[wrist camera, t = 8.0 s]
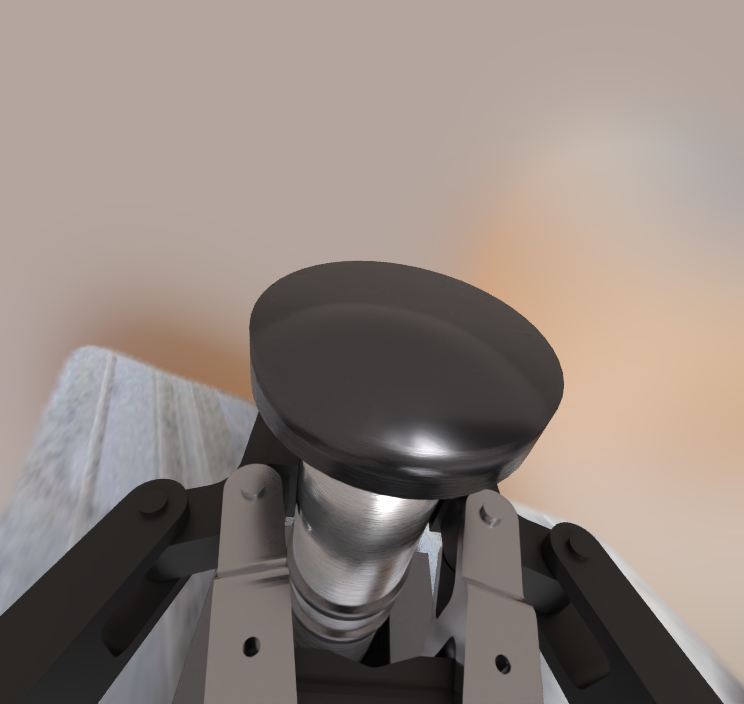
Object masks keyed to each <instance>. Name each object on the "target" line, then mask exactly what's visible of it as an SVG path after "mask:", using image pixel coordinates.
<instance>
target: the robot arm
mask: <svg viewBox="0 0 744 704" xmlns="http://www.w3.org/2000/svg"><path fill="white" fill-rule="evenodd" d="M299 470H300V458H299V457H297V456H296V455H295V454H293V453H292V452H291V451H290V450H289V449H288V448H287V447H286V446H285V445H284V444H283V443H282V442H281V441H279V440H278V439H277V438H276V436H275V435H274V434H273V432H272V431H271V430H270V428H269V427H268V426H267V424H266V423H265V421H264V420H263V418H262V416H261V414H260V412H258V415H257V418H256V421H255V424H254V427H253V430H252V432H251V435H250V438H249V441H248V444H247V447H246V450H245V453H244V456H243V459H242V461H241V464H240V465H239V467H238V469H237V470H236V471H234V472H233V473H232V474H231V475H230V476H229V477H228V478H226V479H225V480H223V481H221V482H219V483H216V484H213V485H209V486H203V487H198V488H192V489H187V490H185V488H184V487H183V486H182V485H181V484H180V483H178V482H177V481H174V480H170V479H156V480H151V481H148V482H146V483H143V484H141V485H139V486H138V487H136V488H135V489H133V490H132V491H131V492H130V493H129V494H128V495H127V496H126V497H125V498H124V499H123V500H121V501H120V502H119V503H118V504H117V505H116V506H115V507H114V508H113V509H112V510H111V511H110V512H109V513H108V514H107V515H106V516H105V517H104V518H103V519H102V520H101V521H100V522H98V523H97V524H96V525H95V526H94V527H93V528H92V529H91V530H90V531H89V532H88V533H87V534H86V535H85V536H84V537H83V538H82V539H81V540H80V541H79V542H78V543H77V544H75V545H74V546H73V547H72V548H71V549H70V550H69V551H68V552H67V553H66V554H65V555H64V556H63V557H62V558H61V559H60V560H59V561H58V562H57V563H56V564H55V565H54V566H52V567H51V568H50V569H49V570H48V571H47V572H46V573H45V574H44V575H43V576H42V577H41V578H40V579H39V580H38V581H37V582H36V583H35V584H34V585H33V586H32V587H31V588H29V589H28V590H27V591H26V592H25V593H24V594H23V595H22V596H21V597H20V598H19V599H18V600H17V601H16V602H15V603H14V604H13V605H12V606H11V607H10V608H9V609H8V610H6V611H5V612H4V613H3V614H2V615H1V616H0V704H98V702H99V701H100V700H101V698H102V697H103V696H104V694H105V693H106V691H107V690H108V689H109V687H110V686H111V685H112V683H113V682H114V680H115V679H116V678H117V676H118V675H119V674H120V672H121V671H122V670H123V668H124V667H125V665H126V664H127V663H128V661H129V660H130V659H131V657H132V656H133V655H134V653H135V652H136V650H137V649H138V648H139V646H140V645H141V644H142V642H143V641H144V640H145V638H146V637H147V635H148V634H149V633H150V631H151V630H152V629H153V627H154V626H155V625H156V623H157V622H158V620H159V619H160V618H161V616H162V615H163V614H164V612H165V611H166V610H167V608H168V607H169V605H170V604H171V603H172V601H173V600H174V599H175V597H176V596H177V595H178V593H179V592H180V590H181V589H182V588H183V586H184V585H185V584H186V582H187V581H188V580H189V578H190V577H191V575H192V574H195V573H199V572H203V571H207V570H211V569H215V568H218V570H217V575H216V576H215V579H214V585H213V594H212V607H211V619H210V632H209V645H208V657H207V670H206V683H205V695H204V704H544V702H543V690H542V678H541V666H540V654H539V649H540V651H541V653H542V655H543V656H544V658H545V660H546V662H547V664H548V666H549V667H550V669H551V671H552V673H553V675H554V677H555V678H556V680H557V682H558V684H559V686H560V688H561V689H562V691H563V693H564V695H565V697H566V699H567V700H568V702H569V704H723V702H722V701H721V700H720V698H719V697H718V696H717V695H716V693H715V692H714V691H713V689H712V688H711V687H710V685H709V684H708V683H707V682H706V680H705V679H704V678H703V676H702V675H701V674H700V673H699V671H698V670H697V669H696V667H695V666H694V665H693V664H692V662H691V661H690V660H689V658H688V657H687V656H686V654H685V653H684V652H683V651H682V649H681V648H680V647H679V645H678V644H677V643H676V642H675V640H674V639H673V638H672V636H671V635H670V634H669V633H668V631H667V630H666V629H665V627H664V626H663V625H662V623H661V622H660V621H659V620H658V618H657V617H656V616H655V614H654V613H653V612H652V611H651V609H650V608H649V607H648V605H647V604H646V603H645V602H644V600H643V599H642V598H641V596H640V595H639V594H638V592H637V591H636V590H635V589H634V587H633V586H632V585H631V583H630V582H629V581H628V580H627V578H626V577H625V576H624V574H623V573H622V572H621V571H620V569H619V568H618V567H617V565H616V564H615V563H614V561H613V560H612V559H611V558H610V556H609V555H608V554H607V552H606V551H605V550H604V549H603V547H602V546H601V545H600V543H599V542H598V541H597V540H596V539H595V537H593V536H592V535H591V534H590V533H589V532H588V531H586V530H585V529H583V528H582V527H580V526H578V525H575V524H573V523H568V522H563V523H559V524H556V525H555V526H554V527H553V528H552V529H549V528H546V527H544V526H541V525H539V524H537V523H534V522H532V521H529V520H527V519H525V518H523V517H521V516H520V515H518V514H517V513H516V511H515V509H514V507H513V506H512V504H511V503H510V502H509V501H508V500H507V499H506V498H505V497H504V496H502V495H501V494H500V492H499V489H498V486H497V484H496V485H494V486H492V487H490V488H487V489H485V490H482V491H479V492H477V493H474V494H470V495H466V496H461V497H457V498H451V499H439V501H438V503H437V505H436V507H435V509H434V511H433V513H432V515H431V517H430V520H429V530H430V531H431V532H441V536H442V545H441V547H440V549H439V553H438V560H437V569H436V577H435V586H434V594H433V603H432V611H431V619H430V624H429V628H428V632H427V635H426V638H425V642H424V646H423V651H422V656H417V657H414V658H410V659H407V660H403V661H399V662H396V663H392V664H388V665H385V666H381V667H377V668H372V667H368V666H366V665H363V664H361V663H358V662H356V661H354V660H351V659H349V658H346V657H344V656H341V655H339V654H336V653H334V652H332V651H329V650H327V649H314V648H300V647H294V643H293V627H292V611H291V595H290V579H289V568H288V564H287V557H286V541H285V519H286V517H294V514H295V509H296V504H297V493H298V481H299Z"/></svg>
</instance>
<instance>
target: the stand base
mask: <svg viewBox="0 0 744 704" xmlns="http://www.w3.org/2000/svg"><path fill="white" fill-rule="evenodd" d="M290 529H291V526H285V541H286V557H287V547H288V538H289V533H290ZM217 570H218V568H216V570H215V573H214V576H213V579H212V582H211V585H210V588H209V591H208V594H207V597H206V600H205V604H204V607H203V610H202V613H201V616H200V619H199V622H198V625H197V628H196V631H195V634H194V637H193V640H192V644H191V647H190V650H189V653H188V656H187V659H186V662H185V665H184V668H183V671H182V674H181V677H180V680H179V684H178V687H177V690H176V693H175V696H174V699H173V702H172V704H204V695H205V683H206V670H207V657H208V645H209V632H210V619H211V607H212V594H213V585H214V579H215V576H216V575H217ZM432 603H433V598H432V588H431V578H430V568H429V558H428V553H419V552H414V553H413V557H412V565H411V568H410V572H409V575H408V577H407V580H406V582H405V584H404V586H403V588H402V590H401V591H400V593H399V595H398V596H397V599H396V601H395V603H394V606H393V608H392V610H391V612H390V614H389V615H388V617H387V619H386V620H385V622H384V623H383V624H382V626H381V627H380V628H379V629H378V630H377V631H376V633H375V635H374V637H373V639H372V641H371V643H370V646H369V651H368V655H367V659H366V662H365V664H364V665H366V666H368V667H372V668H377V667H381V666H385V665H388V664H392V663H396V662H399V661H403V660H407V659H410V658H414V657H417V656H422V651H423V646H424V642H425V638H426V635H427V632H428V628H429V624H430V619H431V611H432Z"/></svg>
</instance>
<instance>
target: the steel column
mask: <svg viewBox="0 0 744 704" xmlns="http://www.w3.org/2000/svg"><path fill="white" fill-rule="evenodd" d="M249 330H250V364H251V383H252V393H253V396H254V399H255V402H256V406H257V408H258V410H259V412H260V414H261V416H262V418H263V420H264V421H265V423H266V424H267V426H268V427H269V428H270V430H271V431H272V432H273V434H274V435H275V436H276V438H277V439H278V440H279V441H281V442H282V443H283V444H284V445H285V446H286V447H287V448H288V449H289V450H290V451H291V452H292V453H293V454H295V455H296V456H297V457H299V458H300V470H299V481H298V493H297V504H296V509H295V519H294V521H293V524H292V526H291V529H290V533H289V538H288V547H287V564H288V568H289V579H290V595H291V611H292V627H293V643H294V647H300V648H314V649H327V650H329V651H332V652H334V653H336V654H339V655H341V656H344V657H346V658H349V659H351V660H354V661H356V662H358V663H361V664H363V665H364V664H365V662H366V659H367V655H368V651H369V646H370V643H371V641H372V639H373V637H374V635H375V633H376V631H377V630H378V629H379V628H380V627H381V626H382V624H383V623H384V622H385V620H386V619H387V617H388V615H389V614H390V612H391V610H392V608H393V606H394V603H395V601H396V599H397V596H398V595H399V593H400V591H401V590H402V588H403V586H404V584H405V582H406V580H407V577H408V575H409V572H410V568H411V565H412V557H413V553H414V551H415V549H416V547H417V545H418V543H419V541H420V538H421V536H422V534H423V532H424V530H425V528H426V526H427V524H428V522H429V520H430V517H431V515H432V513H433V511H434V509H435V507H436V505H437V503H438V501H439V499H451V498H457V497H461V496H466V495H470V494H474V493H477V492H479V491H482V490H485V489H487V488H490V487H492V486H494V485H496V484H497V483H499V482H501V481H502V480H504V479H506V478H507V477H508V476H509V475H511V474H512V473H513V472H514V471H515V470H516V469H517V468H518V467H519V466H520V465H521V464H522V462H523V461H524V460H525V458H526V457H527V456H528V454H529V453H530V451H531V449H532V448H533V446H534V445H535V443H536V442H537V440H538V439H539V437H540V435H541V434H542V432H543V431H544V429H545V428H546V426H547V424H548V423H549V421H550V420H551V418H552V417H553V415H554V414H555V412H556V410H557V409H558V406H559V404H560V402H561V399H562V397H563V389H564V380H563V372H562V369H561V366H560V363H559V360H558V358H557V356H556V354H555V352H554V350H553V348H552V347H551V346H550V344H549V343H548V342H547V340H546V339H545V337H543V335H542V334H541V333H540V332H539V331H538V330H537V328H536V327H535V326H534V325H532V324H531V323H530V322H529V321H528V320H527V319H526V318H525V317H523V316H522V315H521V314H519V313H518V312H517V311H515V310H514V309H513V308H511V307H510V306H508V305H507V304H505V303H504V302H502V301H501V300H499V299H497V298H496V297H494V296H492V295H490V294H489V293H487V292H485V291H483V290H480V289H479V288H476V287H474V286H472V285H470V284H467V283H465V282H463V281H460V280H457V279H455V278H452V277H449V276H446V275H443V274H439V273H436V272H433V271H429V270H425V269H421V268H417V267H412V266H407V265H402V264H395V263H387V262H375V261H343V262H333V263H326V264H321V265H315V266H312V267H308V268H304V269H301V270H299V271H296V272H294V273H291V274H289V275H287V276H285V277H283V278H281V279H279V280H278V281H277V282H275V283H274V284H272V285H271V286H270V287H269V288H268V289H267V290H266V291H265V292H264V293H263V294H262V295H261V296H260V297H259V299H258V301H257V302H256V303H255V306H254V308H253V311H252V313H251V318H250V326H249Z"/></svg>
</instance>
